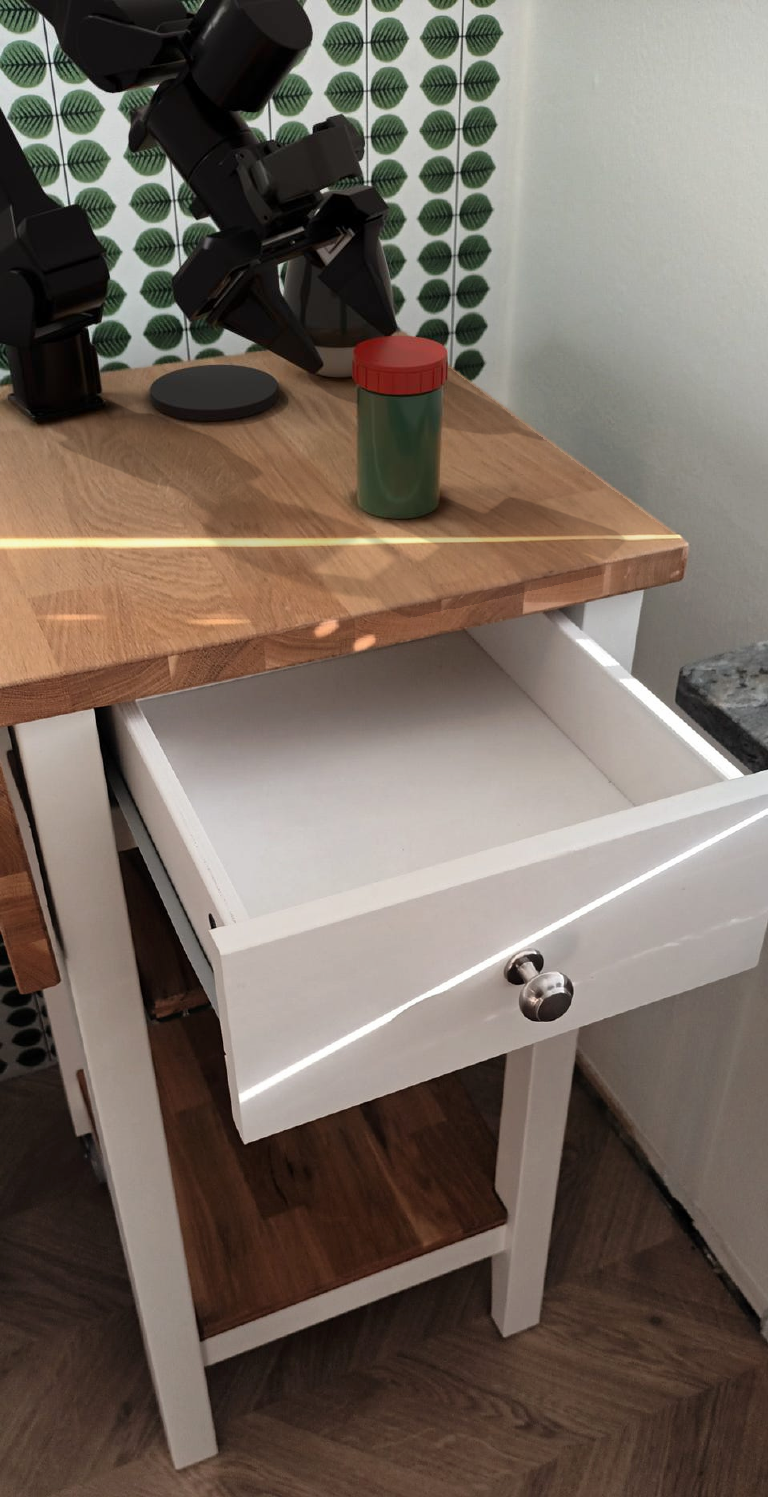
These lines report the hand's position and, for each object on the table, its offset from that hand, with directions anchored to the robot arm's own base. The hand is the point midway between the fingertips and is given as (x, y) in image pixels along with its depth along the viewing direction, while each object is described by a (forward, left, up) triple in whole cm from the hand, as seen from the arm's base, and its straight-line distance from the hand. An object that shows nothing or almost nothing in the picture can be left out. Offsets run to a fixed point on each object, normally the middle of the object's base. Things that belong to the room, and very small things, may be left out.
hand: (357, 351), depth 87 cm
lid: (+1, -3, 0) cm, 4 cm away
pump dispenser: (+13, +23, -11) cm, 28 cm away
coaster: (0, +23, -10) cm, 25 cm away
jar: (+1, -3, -10) cm, 11 cm away
